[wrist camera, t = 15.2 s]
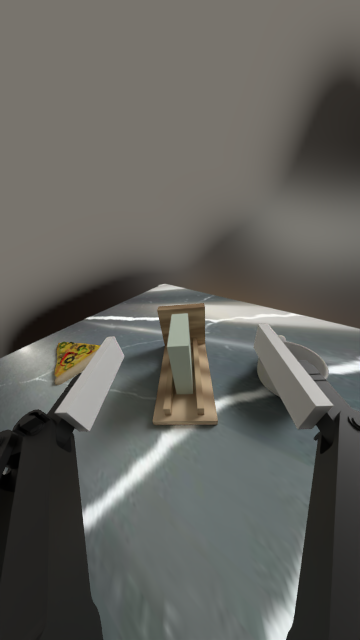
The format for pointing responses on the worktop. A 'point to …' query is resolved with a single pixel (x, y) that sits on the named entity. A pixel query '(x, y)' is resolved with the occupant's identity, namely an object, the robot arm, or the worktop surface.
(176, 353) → the pale green block
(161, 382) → the track
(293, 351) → the teacup
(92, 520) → the worktop surface
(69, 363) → the pizza slice
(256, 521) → the worktop surface
